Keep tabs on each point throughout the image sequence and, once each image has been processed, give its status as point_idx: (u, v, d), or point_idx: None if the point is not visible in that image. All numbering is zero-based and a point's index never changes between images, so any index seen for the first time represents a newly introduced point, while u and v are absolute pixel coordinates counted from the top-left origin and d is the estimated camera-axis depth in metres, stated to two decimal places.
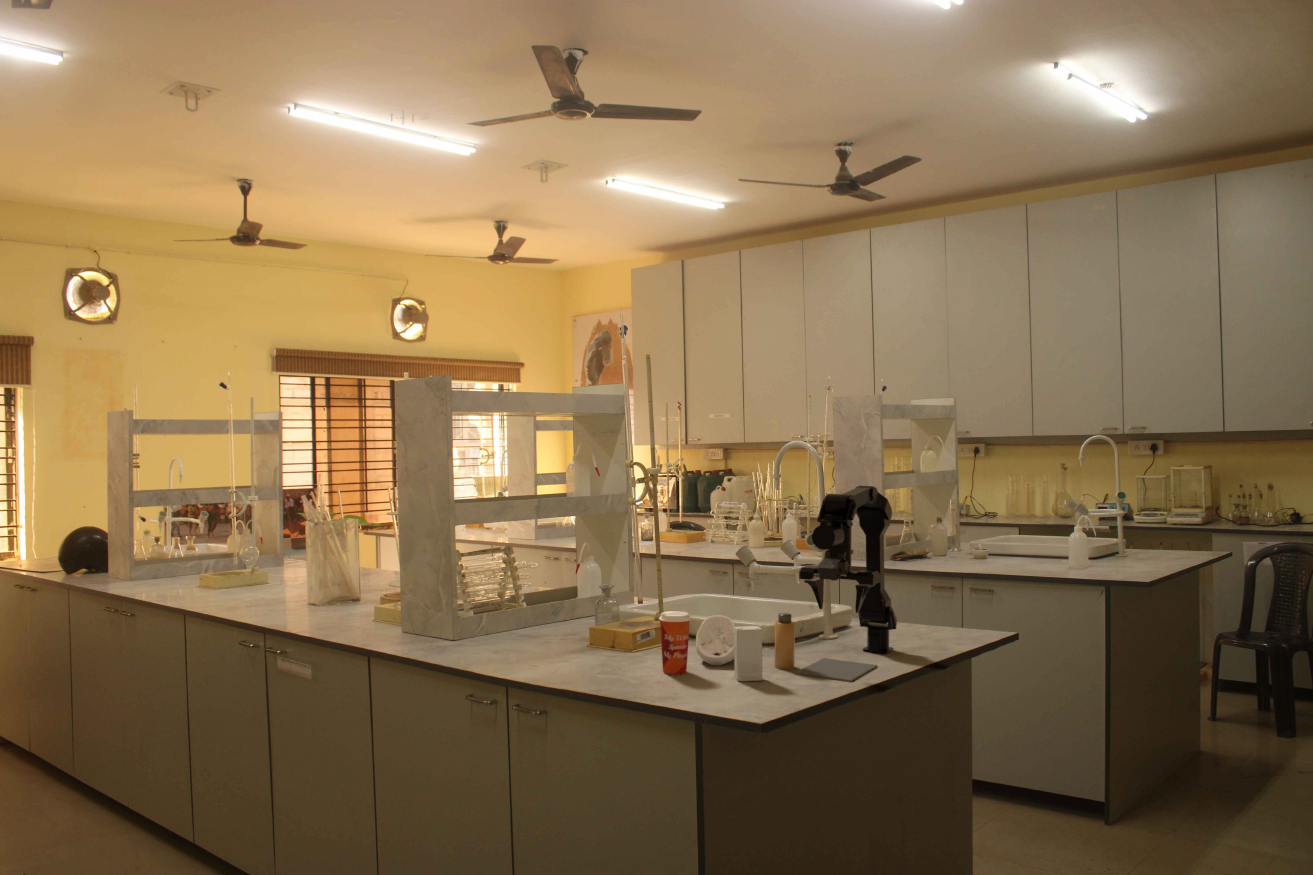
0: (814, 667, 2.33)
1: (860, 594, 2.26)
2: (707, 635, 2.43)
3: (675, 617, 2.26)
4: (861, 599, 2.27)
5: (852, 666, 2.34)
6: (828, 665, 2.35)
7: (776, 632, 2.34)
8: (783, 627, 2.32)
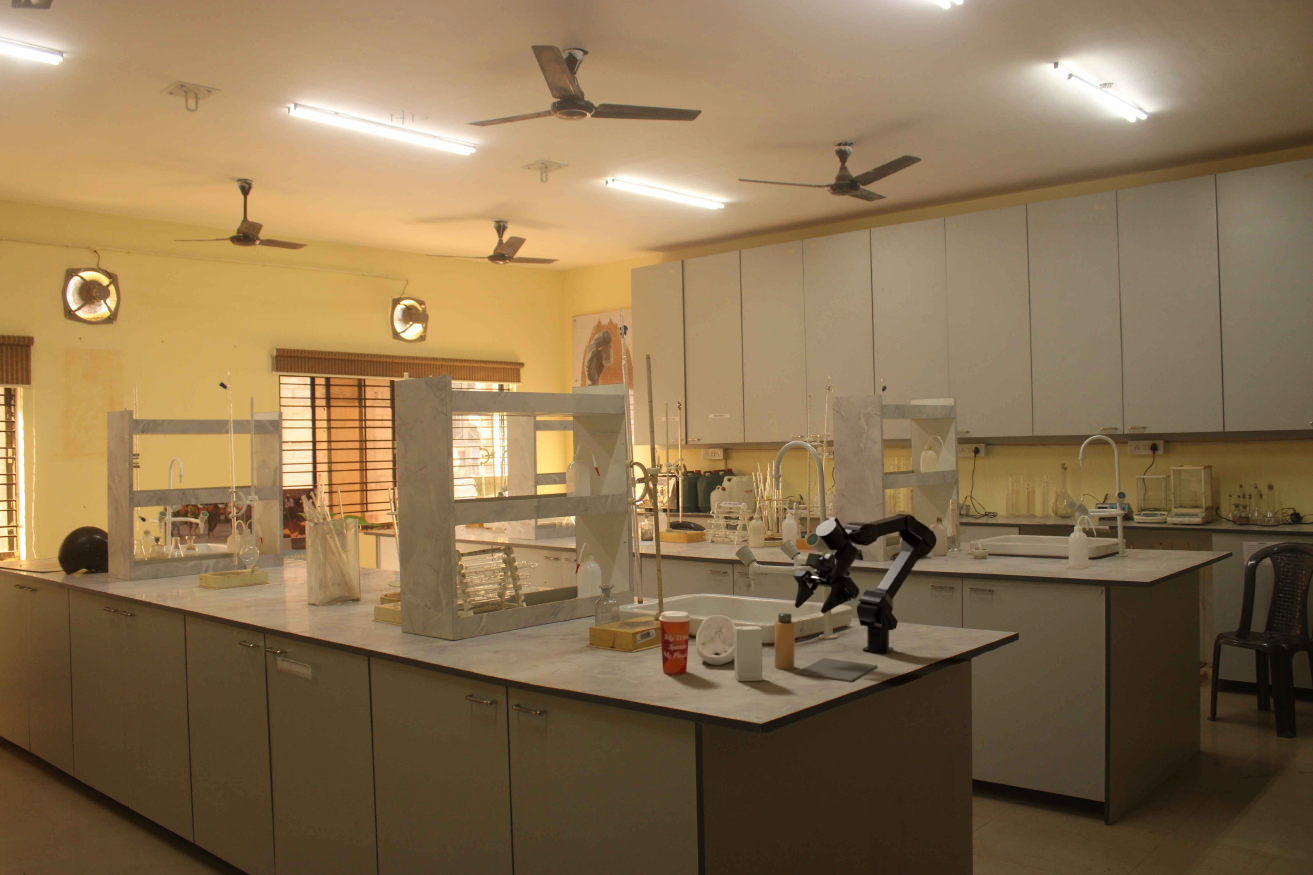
0: (814, 667, 2.33)
1: (832, 594, 2.36)
2: (707, 635, 2.43)
3: (675, 617, 2.26)
4: (831, 601, 2.36)
5: (852, 666, 2.34)
6: (828, 665, 2.35)
7: (776, 632, 2.34)
8: (783, 627, 2.32)
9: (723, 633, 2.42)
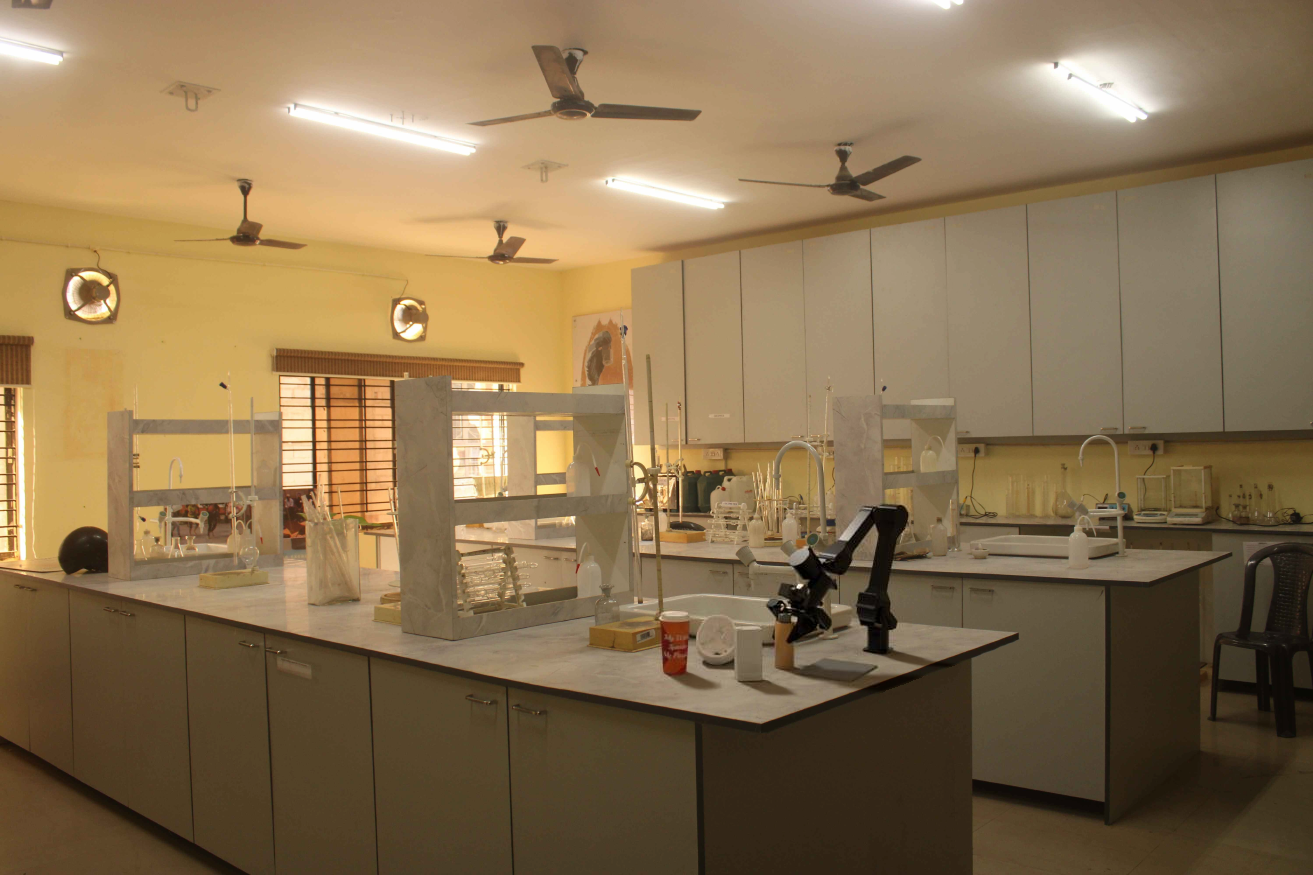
0: (814, 667, 2.33)
1: (798, 624, 2.32)
2: (707, 635, 2.44)
3: (675, 617, 2.26)
4: (797, 631, 2.32)
5: (852, 666, 2.34)
6: (828, 665, 2.35)
7: (776, 632, 2.34)
8: (783, 626, 2.32)
9: (723, 633, 2.43)
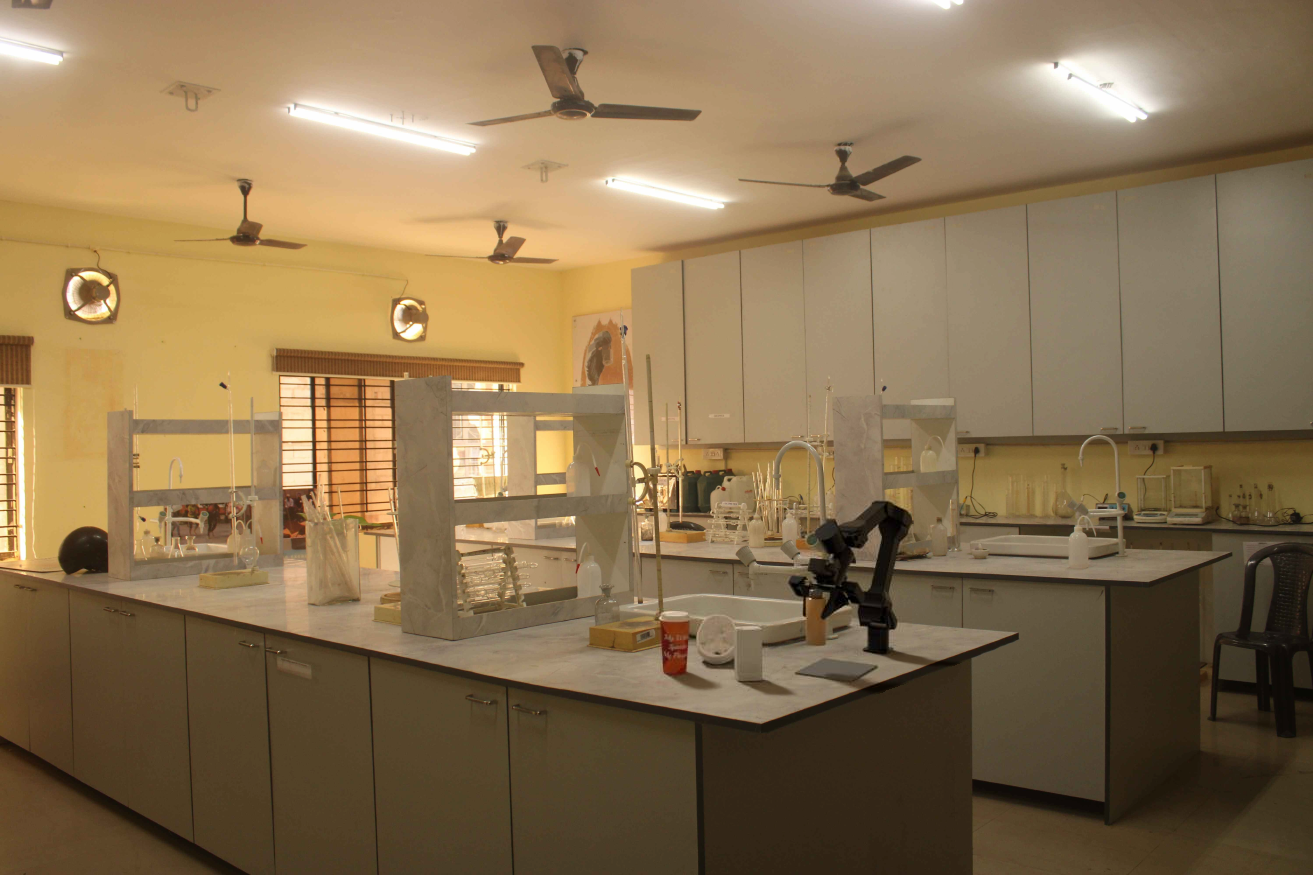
0: (814, 667, 2.33)
1: (832, 599, 2.28)
2: (707, 634, 2.44)
3: (675, 617, 2.26)
4: (831, 607, 2.28)
5: (852, 666, 2.34)
6: (828, 665, 2.35)
7: (809, 608, 2.28)
8: (817, 602, 2.28)
9: (723, 632, 2.43)
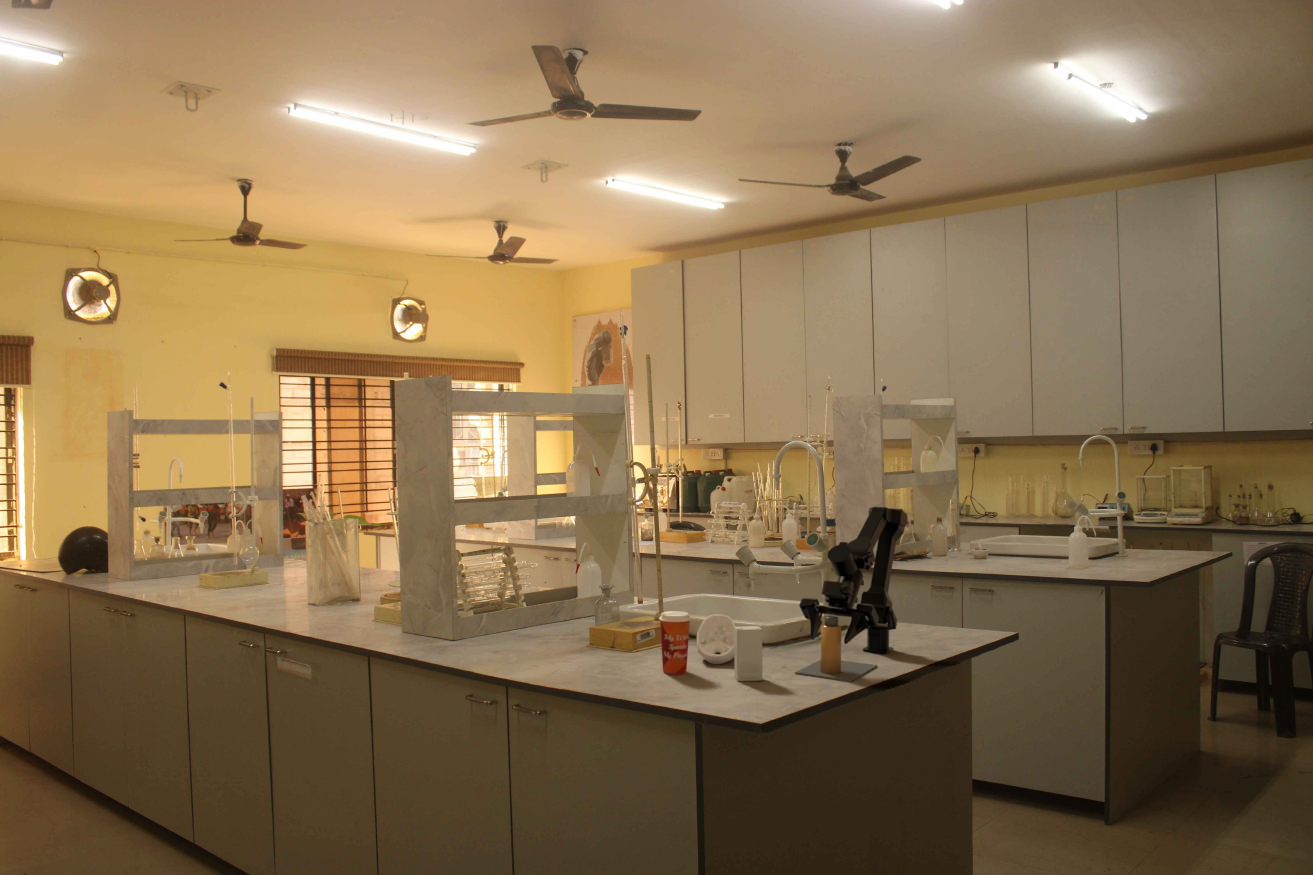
0: (814, 667, 2.33)
1: (854, 623, 2.26)
2: (708, 634, 2.45)
3: (675, 617, 2.26)
4: (853, 631, 2.26)
5: (852, 666, 2.34)
6: None
7: (825, 636, 2.27)
8: (834, 630, 2.26)
9: (723, 632, 2.43)
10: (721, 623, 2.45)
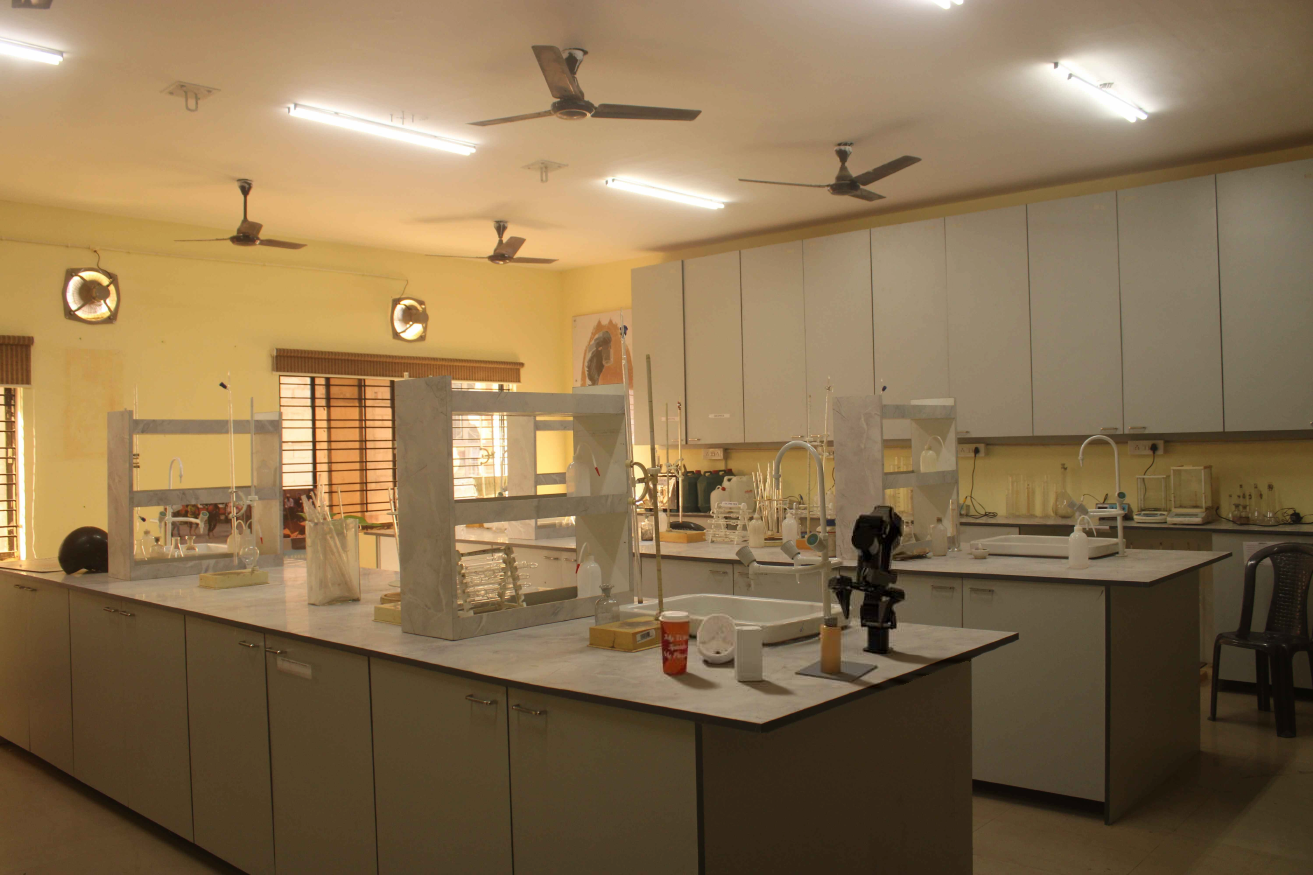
0: (814, 667, 2.33)
1: (889, 608, 2.37)
2: (708, 634, 2.45)
3: (675, 617, 2.26)
4: None
5: (852, 666, 2.34)
6: None
7: (825, 636, 2.27)
8: (834, 630, 2.26)
9: (724, 632, 2.44)
10: (721, 623, 2.46)
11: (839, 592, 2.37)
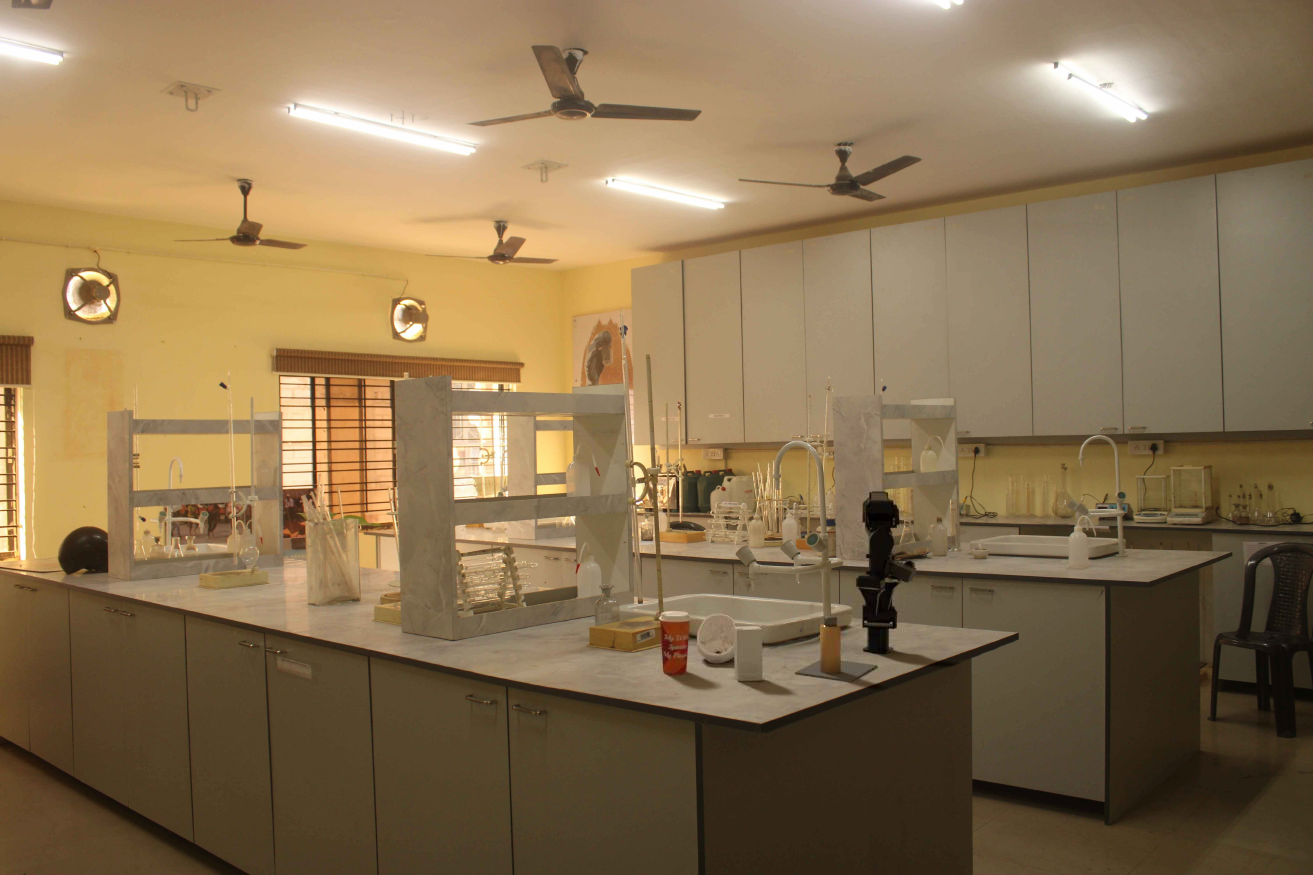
0: (814, 667, 2.33)
1: (893, 591, 2.42)
2: (708, 633, 2.45)
3: (675, 617, 2.26)
4: None
5: (852, 666, 2.34)
6: None
7: (824, 636, 2.27)
8: (833, 630, 2.26)
9: (724, 632, 2.44)
10: (721, 622, 2.46)
11: None
